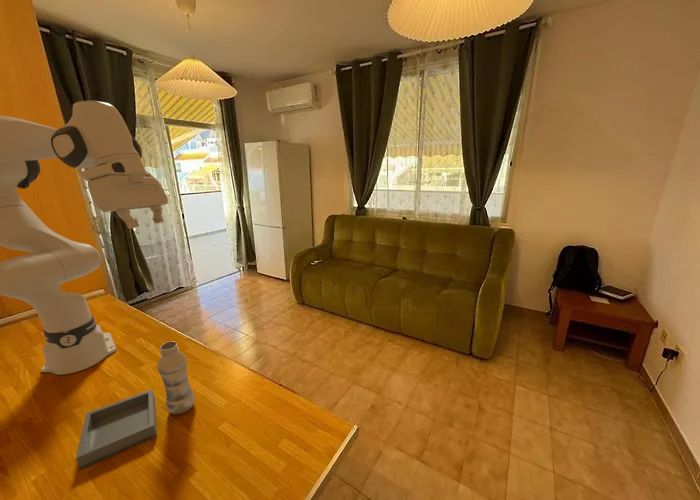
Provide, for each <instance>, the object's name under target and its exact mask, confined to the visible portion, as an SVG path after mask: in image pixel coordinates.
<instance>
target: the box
mask: <svg viewBox="0 0 700 500" xmlns="http://www.w3.org/2000/svg"><path fill="white" fill-rule="evenodd" d="M156 407H157V406H156V397H155V393H154V390H153V388H152V389H148V390H145V391H143V392H140V393H137V394H134V395H132V396H128V397H126V398H123V399H121V400H118V401H115V402H112V403H110V404H107V405H105V406H101V407H98V408H96V409H93V410H91V411H87V412H86V413H85V417H84V421H83V426H82V431H81V435H80V439H79V443H78V448H77V451H76V452H77V453H76V457H75V459H76V462H77V465H78V467H79V470H83V469H86V468H89V467H91V466H93V465H95V464H97V463H99V462H102V461H104V460H106V459H108V458H111V457H113V456H115V455H117V454H119V453H123V452H125V451H126V450H129V449H131V448H133V447H135V446H138V445H140V444H143V443H145V442H147V441H149V440H152V439H153V438H155V437H158V431H157V429H158V428H157V412H156V411H157V410H156V409H157V408H156Z"/></svg>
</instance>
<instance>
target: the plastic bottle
mask: <svg viewBox="0 0 700 500" xmlns="http://www.w3.org/2000/svg"><path fill="white" fill-rule="evenodd" d="M160 356H161V357H160V358H159V360H158V362H157V366H156V368H157V371H158V373H159V375H160V378H161V379H162V382H163V386H164V390H165V396H166V399H165V403H166V405H165V406H166V409H167V410H168V412H169V413H170V414H173V415H182V414H185V413H186V412H188V411H189V410H190V409H191V408H192V407H193V405H194V403H195V393H194V392H193V389H192V388H191V384H190V381H189V376H188V365H187V363H188V361H187V357H186V355H185V354H184V353H183V352H181V351H179V347H178V343H177V342H176V341H174V340H173V341H167V342H165V343H163V344H161V345H160Z"/></svg>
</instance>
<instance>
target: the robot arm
mask: <svg viewBox="0 0 700 500" xmlns="http://www.w3.org/2000/svg"><path fill="white" fill-rule="evenodd" d="M142 157H143V150H142V148H141V145H140V143H139V142H138V141H137V139H136V138H135V137H134V136H133V135H131V133H130V130H129V128H128V126H127V124H126V121H125V120H124V117H123V116H122V114H120V112H119V110H118V109H117V108H116V107H115V106H114V105H112V104H111V103H109V102H104V101H98V100H88V99H87V100H79V101H77V102H74V103H73V105H72V114H71V117H70V119H69V121H68V122H67V123H66V124H65V125H64V126H63V127H60V128H55V127H53V126H48V125H44V124H41V123H36V122H34V121H30V120H27V119H21V118H18V117H14V116H13V117H12V116H7V115H0V247H2V248H4V249H8V250H11V251H12V250H15V251H22V252H26V253H28V254H22V255H19V256H14V257H11V258H9V259H6V260H3V261H1V262H0V296H2V297H6V298H11V299H17V300H21V301H23V302H25V303H27V304H28V305H30V306H31V307H32V308H33V309H34V310H35V311H36V313H37V315H38V317H39V319H40V321H41V324H42V327H43V330H42V331H43V336H44V338H45V341H46V343H45V345H43V346H42V348H41V349H42V352H43V356H44V357H43V358H44V360H45V364H44V365H43V366H42V367H41V369H40V371H41V372H42V373H52V374H54V375H69V374H73V373H74V374H75V373H77V372H81V371H83V370H86V369H89V368H90V367H92V366H94V365H97V364H98V363H99V362H101V361H102V360H104V359H105V358H107V356H109V355H112V354H113V353H115V352H116V351H117V350H118V349H117V347H116V344H115V341H114V339H113V336H112V333H110V332H103V331H102V328H101V325H99V324H97V322H96V319H95V317H94V316H93V314H92V313H93V312H92V311H90V307H89V304H88V301H87V298H86V297H85V296H84V295H83V294H81V293H78V292H72V291H71V292H70V291H62V289H61V285H62V284H64V283H66V282H70V281H73V280H76V279H78V278H83V277H85V276H87V275H88V274H91V273H93V272H94V271H96V270H98V269H99V268H100V266H101V265H102V264H101V263H102V256H101V254H100V252H99V250H98V249H96V248H95V247H94V246H92V245H91V244H87V243H83V242H79V241H75V240H71V239H70V238H67V237H65V236H63V235H60V234H59V233H57V232H55V231H54V230H52V229H50V227H48V226H47V225H46V223H44V222H43V221H42V220H41V219H40V218H39V217H38V216H37V214H35V212H34V211H33V210H32V209H31V208H30V206H28V205H27V203H26V202H25V201H24V200H23V199H22V198H21V196H20V195H19V193H18V189H17V188H19V189H23V190H25V189H27V188H29V187H30V186H31V185H30V184H31V183H33V182H35V181H36V180H37V178H38V177H39V175H40V173H41V164H40V162H39V161H41V160H43V161H44V160H52V159H59V160H60V161H61V162H62V163H63V164H65V165H66V166H67V167H70V168H73V169H83V170H82V171H81V174H80V175H81V176H82V178H83V180H85V182H87V188H88V191H89V193H90V196H91V198H92V200H93V202H94V204H95V206H96V207H97V209H99V210H100V211H102V212H103V213H110V212H115V213H116V214H117V216H118V218H120V219H121V220H122V221H123V222H124V223H125V224H126V227H127V229H129V230H130V229H135V228H139V226H140V223H139V221H138V219H135V218H133V216H132V215H131V214H130V213H131V211H130V210H138V209H148V208H149V209H150V211H151V212H152V215H153V217H151V219H152V221H153V223H154V224H155V225H156V224H161V223H164V218H163V215H162V214H163V213H162V212H163V207H162V206H164V205H168V203H169V198H168V196H167V193H166V191H165V190H164V188H163V186H162V184H161V183H160V181H159V180H158V179H157V178H155V176H153V175H152V174H151V173H150V172H147V170H146V168H145V165H144V163H143V161H142ZM84 169H85V170H84Z"/></svg>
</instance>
